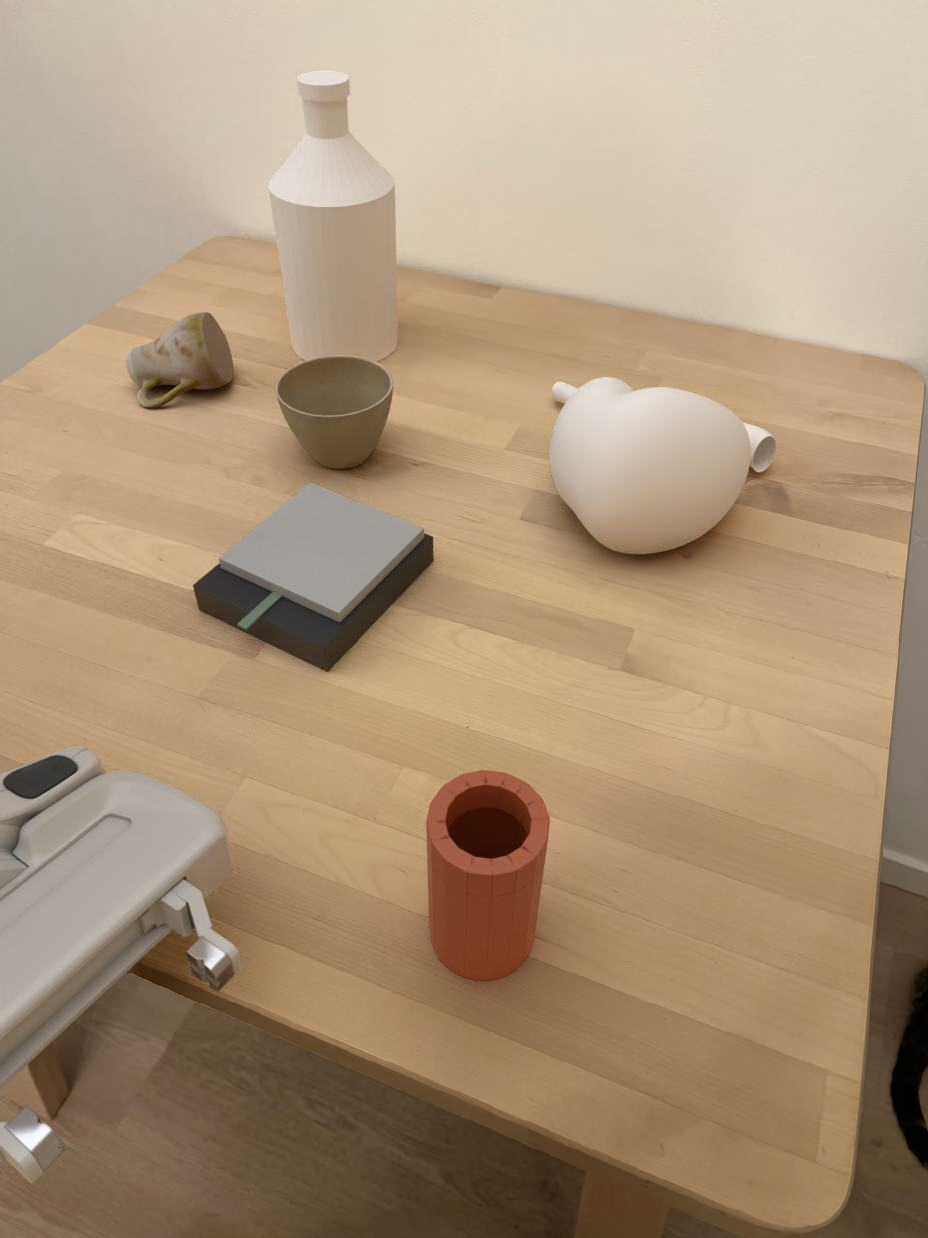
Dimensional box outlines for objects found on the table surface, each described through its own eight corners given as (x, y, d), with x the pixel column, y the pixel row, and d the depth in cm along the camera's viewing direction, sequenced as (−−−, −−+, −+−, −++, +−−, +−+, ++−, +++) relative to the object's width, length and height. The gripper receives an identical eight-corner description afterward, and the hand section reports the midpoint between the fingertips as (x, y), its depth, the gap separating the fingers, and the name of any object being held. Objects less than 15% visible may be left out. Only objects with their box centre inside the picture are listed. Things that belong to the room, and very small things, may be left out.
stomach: (786, 532, 84) (578, 447, 97) (835, 387, 78) (606, 317, 91) (645, 592, 68) (421, 481, 82) (693, 417, 62) (441, 328, 76)
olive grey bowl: (335, 411, 89) (328, 342, 84) (418, 446, 85) (416, 376, 80) (262, 460, 84) (250, 389, 79) (347, 500, 80) (340, 429, 74)
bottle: (280, 322, 102) (245, 63, 84) (385, 308, 104) (373, 54, 87) (299, 376, 94) (265, 103, 76) (413, 359, 96) (405, 92, 79)
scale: (184, 621, 69) (174, 586, 66) (313, 511, 78) (308, 477, 76) (314, 685, 65) (309, 651, 62) (433, 560, 74) (433, 526, 72)
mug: (131, 370, 95) (163, 279, 90) (221, 414, 97) (257, 327, 92) (106, 391, 88) (139, 295, 84) (203, 438, 90) (240, 346, 86)
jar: (410, 946, 51) (403, 837, 44) (464, 866, 55) (467, 752, 47) (501, 1001, 49) (512, 897, 41) (552, 914, 53) (570, 803, 45)
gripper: (-339, 1034, 35) (-137, 1276, 29) (105, 724, 49) (305, 845, 43) (-263, 1114, 39) (-70, 1342, 33) (129, 806, 52) (316, 927, 46)
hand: (145, 1058), depth 38 cm, fingers open, 8 cm apart
